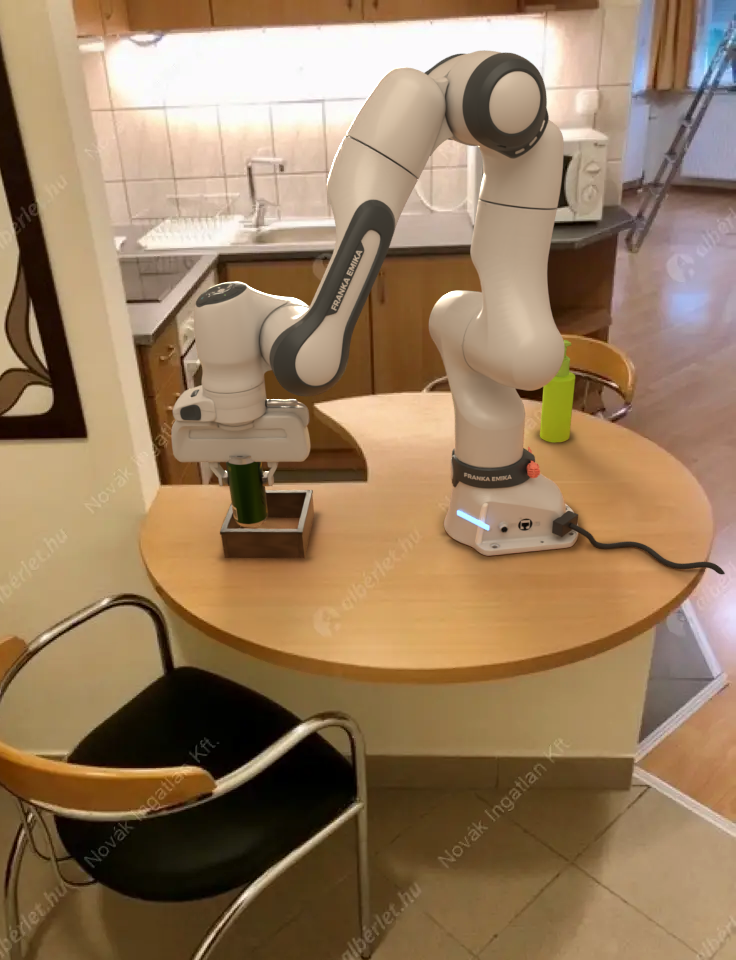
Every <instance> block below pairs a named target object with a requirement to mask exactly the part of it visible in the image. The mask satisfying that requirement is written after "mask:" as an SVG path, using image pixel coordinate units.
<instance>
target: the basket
mask: <svg viewBox="0 0 736 960" xmlns="http://www.w3.org/2000/svg"><path fill="white" fill-rule="evenodd" d="M265 491H266V499H267V508H268V516H267V519H280V518H281V519H299V520H298V524H297V528H241V526H240V525H239V524H238V523H237V522H236V521H235V519H234V516H233V509H232V502H231V503H230V504H229V508H228V510H227V512H226V515H225V517H224V519H223V523H222V525H221V528H220V531H219V535H220V538H221V544H222V551H223V556H224V559H230V558H231V559H305V558H306V553H307V549H308V545H309V540H310V537H311V531H312V528H313V523H314V518H315V509H314V507H315V506H314V496H313V495H314V490H313V489H265Z"/></svg>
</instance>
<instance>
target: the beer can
mask: <svg viewBox="0 0 736 960" xmlns="http://www.w3.org/2000/svg"><path fill="white" fill-rule="evenodd" d="M225 466H226V472H227V474H228V481H229V486H228V487H229V496H230V500H231V502H232V509H233V516H234V519H235V521H236V522H237V523H238V524H239V525H240V527H243V528H255V527H259V526H261V525H263V524H264V523H266V521H267V519H268V518H267V516H268V508H267V499H266V491H265V490H266V486H263V485H262V483H263V482H262V475H263V472H264V466H263V462H255V461H253V460H252V459H251V456H246V457H243V456H237V457H234V456H230V459H229V461H227V462H225Z"/></svg>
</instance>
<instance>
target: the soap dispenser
mask: <svg viewBox="0 0 736 960" xmlns="http://www.w3.org/2000/svg"><path fill="white" fill-rule="evenodd" d="M563 341H564V346H565V352H564V359H563V362H562V365H561V367H560V369H559V371H558V373H557V374H556V376H555V377H554V378H553V379H552V380H551V381H550V382H549V383H548V384H547V385H545V386H544V387H542V401H541V404H542V405H541V414H540V415H541V416H540V428H539V437H540V439H541V440H543V441H545V442H548V443H562V442H566V441H568V440H569V439H570V436H571V425H572V415H573V406H574V405H573V403H574V393H575V385H576V384H575V383H576V374H575V373H573V372H571V371H570V367H571V366H570V365H571V358H570V357H569V356H568V355H567V351H568V350H567V349H568V347H571V346H572V342H571V341H569V340H567V339H563Z"/></svg>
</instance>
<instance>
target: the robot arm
mask: <svg viewBox="0 0 736 960" xmlns="http://www.w3.org/2000/svg"><path fill="white" fill-rule="evenodd" d="M547 98H548V97H547V90H546V84H545V82H544V78H543V76H542V74H541V72H540V70H539V69H538V68H537V67H536V66H535V65H534V63H533V62H531V61H530V60H528V59H527V58H525V57H523V56H521V55H519V54H516V53H514V52H501V51H496V50H495V51H494V50H476V51H473V52H470V53H456V54H452V55H449V56H446V57H445V58H443V59H442V60H440V61H438V62H437V63H436V64H434V65H433V66H432V67H431V68H429V69H427V70H426V71H425V72H424V71H421V70H419V69H417V68H413V67H408V66H407V67H404V66H403V67H401V66H400V67H396V68H393V69H391V70H389V71H387V72H386V73H385V74H384V75H383V76H382V77H381V79H380V80H379V81H378V83H377V84H376V86H374V88H373V89H372V91H371V92H370V94H369V95H368V97H366V99H365V101H364V102H363V104H362V106H361V107H360V108H359V110H358V112H357V114H356V115H355V117H354V119H353V120H352V122H351V124H350V126H349V128H348V129H347V131H346V134H345V136H344V137H343V139H342V140H341V143H340V145H339V147H338V149H337V151H336V154H335V156H334V158H333V162H332V164H331V167H330V170H329V174H328V178H327V182H326V194H327V199H328V202H329V205H330V207H331V212H332V215H333V220H334V225H335V243H334V249H333V251H332V254H331V257H330V259H329V262H328V264H327V266H326V269H325V271H324V273H323V275H322V277H321V279H320V282H319V285H318V287H317V289H316V292H315V294H314V296H313V298H312V301H311V302H310V305H308V304H307V303H306V302H304V301H302V300H301V299H298V298H296V297H293V296H280V295H273V294H269V293H266V292H262V291H260V290H257V289H255V288H253V287H251V286H249V285H248V284H247V283H245V282H242V281H227V282H221V283H219V284H216V285H213V286H211V287H208V289H206V290H205V291H203V292H202V293H200V295H199V296H198V297H197V299H196V301H195V303H194V308H193V331H194V332H193V333H194V341H195V348H196V355H197V359H198V361H199V362H200V365H201V367H202V368H201V369H202V375H201V385H198V386H194V387H192V388H189V389H186V390H184V391H183V392H182V393H181V394H180V395H179V397H178V398H177V400H176V401H175V403H174V405H173V407H172V416H173V418H174V420H175V421H174V422H173V424H172V427H171V433H170V435H171V448H172V454H173V457H174V459H176V460H177V462H179V463H208V468H209V469H210V471H211V472H212V473H213V474H214V475H215V476H216V477H217V478H218V485H219V487H229V481H228V474H227V471H226V470H224V468H223V467H222V466H221V463H226V462H227V461H229V459H230V456H234V457H237V456H243V457H246V456H251V459H252V460H253V461H255V462H262V463H266V464H267V467H268V468H269V470H268V471H263V475H262V482H263V483H262V485H263V486H265V487H273V486H274V485H275V477H274V474H275V472H276V471H277V469H278V466H279V463H292V462H293V463H297V462H298V463H301V462H304V461H306V459H307V458H308V457H309V455H310V453H311V439H310V432H309V428H308V426H309V424H310V411H309V409H308V407H307V405H305V404H304V403H303V402H300V401H298V399H294V398H289V399H274V398H273V399H270V398H269V399H267V391H266V382H265V374H266V373H267V372H270V371H272V373H273V375H274V377H275V378H276V381H277V382H278V384H279V385H280V386H281V387H282V388H283V389H284V390H285V391H287V392H288V393H290V394H292V395H295V396H298V397H315V396H318V395H322V394H323V393H326V392H327V391H329V390H331V389H332V388H333V387H335V385H337V383H339V381H340V380H341V379H342V377H343V375H344V374H345V372H346V370H347V367H348V363H349V357H350V351H351V349H350V348H351V342H352V337H353V334H354V330H355V327H356V325H357V322H358V320H359V317H360V315H361V313H362V311H363V309H364V307H365V304H366V302H367V300H368V297H369V296H370V293H371V291H372V289H373V286H374V284H375V282H376V279H377V278H378V276H379V273H380V270H381V269H382V266H383V264H384V261H385V259H386V256H387V254H388V251H389V249H390V246H391V244H392V240H393V237H394V234H395V231H396V228H397V225H398V222H399V219H400V217H401V215H402V212H403V210H404V208H405V207H406V204H407V202H408V200H409V199H410V196H411V194H412V193H413V190H414V188H415V187H416V185H417V183H418V180H419V179H420V177H421V175H422V173H423V172H424V169H425V168H426V165H427V163H428V161H429V159H430V157H431V156H433V154H434V152H435V151H436V150H437V149H438V147H440V146H441V145H442V144H444V142H445V141H454V142H456V143H458V144H461V145H466V146H470V147H478V149H479V152H480V154H481V158H482V159H481V160H482V174H483V175H482V180H481V184H480V187H479V188H480V189H479V194H478V198H477V199H478V200H477V205H476V212H475V218H474V224H473V229H472V230H473V231H472V237H471V243H470V249H469V250H470V252H469V253H470V259H471V262H472V264H473V266H474V268H475V270H476V272H477V274H478V278H479V282H480V288H481V291H475V290H452V291H449V292H448V293H446V294H444V295H442V296H441V297H440V298H439V299H438V300H437V301H436V303H435V304H434V306H433V308H431V309H432V310H431V312H430V315H429V319H428V331H429V332H428V333H429V335H430V338H431V340H432V342H433V343H434V345H435V347H436V348H437V350H438V353H439V354H440V355H439V356H440V357H441V360H442V364H443V366H444V371H445V374H446V377H447V382H448V385H449V389H450V394H451V398H452V403H453V414H454V447H453V449H452V451H451V452H452V453H451V457H450V480H451V484H452V487H451V494H450V500H449V504H448V509H447V511H446V515H445V517H444V520H443V528H444V531H445V532H446V533H447V535H448V536H449V537H450V538H451V539H453V540H454V541H457V542H459V543H461V544H463V545H466V546H469V547H472V548H473V549H474V550H475V551H477V552H478V553H479V554H481V555H483V556H487V557H490V556H491V557H492V556H499V555H509V554H510V555H511V554H520V553H528V552H537V551H547V550H556V549H557V550H558V549H567V548H572V546H574V545H575V544H576V542H577V541H578V538H579V534H580V535H582V536H583V537H585V538H586V539H587V540H588V542H589V543H590V545H592V546H593V547H595V548H597V549H601V550H614V549H621V548H635V549H639V550H641V551H644V552H645V553H647V554H649V556H651V557H653V558H654V559H655V560H656V561H657V562H659V563H660V564H662V565H663V566H666V567H668V568H670V569H675V570H693V569H701V568H704V569H705V568H706V569H710V570H713V571H714V572H715V573H716V574H718V575H725V574H726V573H725V571H724V569H723V568H721V567H720V566H719V565H717V564H716V563H714V562H711V561H695V562H685V563H682V562H681V563H680V562H679V563H678V562H673V561H670V560H668V559H667V558H665V557H663V556H662V555H661V554H659V553H658V552H657V551H656V550H654V549H653V548H651V547H650V546H648V545H646V544H643V543H641V542H637V541H620V542H619V541H618V542H611V543H604V542H600V541H597V540H596V539H595V537H594V536H593V534H591V533H590V531H588V530H586V529H584V528H582V527H581V526H579V513H576V512H574V510H573V509H572V508H571V507H570V506H569V505H568V504H567V503H566V501H565V498H564V495H563V493H562V490H561V489H560V487H559V486H558V484H557V483H556V482H555V481H553V480H552V479H551V478H549V477H547V476H545V475H544V474H542V473H541V468H540V465H539V464H538V463H537V462H536V456H535V454H533V451H532V449H531V447H530V446H528V447H527V449H526V448H525V447H524V443H525V442H524V440H525V427H526V408H525V404H524V401H523V400H522V398H521V396H520V395H519V393H518V391H517V390H523V391H528V392H529V391H537V390H540V389H541V388H542V389H543V387H544V386H545V385H547V384H548V383H549V382H550V381H551V380H552V379H553V378H554V377H555V376H556V374H557V373H558V371H559V369H560V367H561V365H562V362H563V359H564V352H565V346H564V341H563V340H564V338H563V336H562V334H561V332H560V331H559V329H558V326H557V324H556V322H555V319H554V317H553V312H552V309H551V303H550V295H549V286H548V283H549V282H548V262H549V256H550V255H549V254H550V248H551V244H552V243H551V242H552V239H553V237H552V236H553V232H554V226H555V221H556V217H557V211H558V207H559V200H560V196H561V195H560V194H561V188H562V180H563V169H564V143H565V141H564V136H563V133H562V130H561V129H560V128H559V126H558V125H557V124H556V123H555V122H553V121H552V120H550V116H549V112H548V107H547V105H548V101H547V100H548V99H547Z"/></svg>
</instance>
